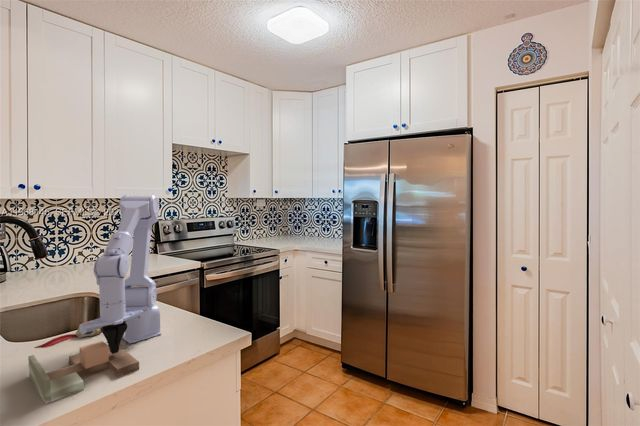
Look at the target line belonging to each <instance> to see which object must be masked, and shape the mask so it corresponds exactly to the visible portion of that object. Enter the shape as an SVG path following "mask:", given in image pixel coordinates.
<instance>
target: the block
mask: <svg viewBox="0 0 640 426" xmlns="http://www.w3.org/2000/svg"><path fill="white" fill-rule="evenodd" d="M79 353H80V363H81V364H82V365H83V366H84V368H85V369H87V368H90V367H93V366H96V365H99V364H102V363H105V362H108V361H109V357H108V344H107V343H105V342H104V341H103V340H100V341H97V342H94V343H93V342H92V343H90V344H87V345H83V346H80V347H79Z"/></svg>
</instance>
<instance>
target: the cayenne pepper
mask: <svg viewBox="0 0 640 426" xmlns="http://www.w3.org/2000/svg"><path fill="white" fill-rule="evenodd" d="M76 337H77V336H76V334H75V333H72V334H71V333H70V334H64V335H60V336H56V337H54V338H53V339H51V340H48V341H47V342H45V343H42V344H41V345H37V346H35V347H34V349H36V348H41V349H42V348H49V347H52V346H54V345H55V346H56V345H58V344H60V343H62V342H65V341H67V340H70V339H74V338H76Z"/></svg>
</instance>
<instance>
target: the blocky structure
mask: <svg viewBox="0 0 640 426" xmlns="http://www.w3.org/2000/svg"><path fill="white" fill-rule="evenodd" d="M107 345H108V344H107ZM108 357H109V361H108V362H105V363H102V364H99V365H96V366H93V367H90V368H87V369H85V368H84V366H83V365H82V364H81V363H80V352H79V353H76V354H73V355H70V356H68V364H69V366H65V367H63V368H59V369H56V370H52V371H50V372H46V371H45V369H44V368H43V366H42V365H41V363H39V362H40V361H38V359H37V357H36V356H35V355H34V354H31V355H29V356H28V357H27V360H28V374H29V375H28V376H29V378H30V380H31V382H32V384H33V386H34V387H35V388H36V390H37V392H38V393H39V396H40V397H41V399H42V400H43V402H44V404H45V405H47V404H48V403H52V402H54V401H58V400H60V399H62V398H66V397H68V396H72V395H74V394H77V393H79V392H82V391H84V390H85V381H84V379H83V378H86V377H89V376H92V375H95V374H98V373H101V372H103V371H106V370H109V371H110V372H112V373H113V374H114V375H115V376H116V377H117V378H120V377H123V376H125V375H128V374H131V373H133V372H136V371H138V370H140V361H139V360H138V359H136V357H134V356H132V355H131V354H130V353H129V352H127V351H126V350H125V349H124V348H122V347H121V346H119V352H117V353H114V354H112V353H111V352H110V349H109V345H108Z"/></svg>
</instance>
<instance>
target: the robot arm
mask: <svg viewBox="0 0 640 426" xmlns="http://www.w3.org/2000/svg"><path fill="white" fill-rule="evenodd" d="M118 203H119V205H118V206H119V211H120V215H121V218H120V222H119V224H118V229H117V232H114V233H113V234H111V236H110V237H109V239H108V242H107V244H106V247H105V250H104V252H103V254H102V255H101V256H99V257H98V258H96V260H95V262H94V265H93V275H94V277H95V279H96V280H95V281H96V284H97V286H98V289H99V290H98V291H99V293H98V296H99V318H96V319H93V321H92V320H89V321H90V322H87V321H86V322H87V323H84V322H83V323H84V324H83V323H81V324H79V326H78V327H80V333H81V334H85V333H87V332H89V331H93V330H97V329H100V330H101V334H103V336H104V338H105V339H106V342H107V345H109V349H110V352H111V353H112V354H114V353H117V352H119V346H120V345H121V343H122V340H124V341H125V342H127V343H128V344H135V343H137V342H140V341H143V340H144V341H145V340H147V339H150V338H153V337H157V336H160V335H161V334H162V332H161V312H160V309H159V307H158V305H157V304H156V302H157V296H158V294H157V293H158V292H157V283H156V282H155V281H154V279H152V278H151V277H149V276H148V272H149V271H148V269H149V259H150V250H151V249H150V247H151V246H150V245H151V237H152V236H151V235H152V228H153V225H155V223H157V222H158V218H159V209H160V208H159V205H160V204H159V200H158V197H157V196H156V195H127V194H124V195H122V196H121V197H120V200H119V202H118ZM131 249H132V250H131ZM130 252H131V259H130V257H129V255H130ZM130 261H131V262H130ZM129 262H130V263H129ZM129 267H130V268H129ZM129 269H130V271H129ZM128 272H129V277H127V278H125V277H126V276H127V275H128ZM120 347H121V346H120Z"/></svg>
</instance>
